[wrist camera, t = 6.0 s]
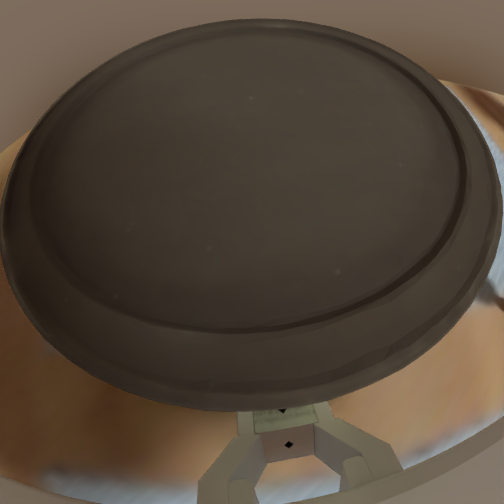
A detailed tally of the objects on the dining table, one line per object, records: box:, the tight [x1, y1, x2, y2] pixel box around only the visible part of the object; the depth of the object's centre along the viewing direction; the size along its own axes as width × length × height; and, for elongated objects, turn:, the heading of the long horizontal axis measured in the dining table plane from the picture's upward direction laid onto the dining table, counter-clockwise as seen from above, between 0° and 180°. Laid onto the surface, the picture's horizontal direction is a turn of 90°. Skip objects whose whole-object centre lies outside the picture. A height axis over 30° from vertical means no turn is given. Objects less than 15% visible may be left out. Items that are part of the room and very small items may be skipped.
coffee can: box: [0, 19, 503, 412], centre depth 11 cm, size 10×10×14 cm
